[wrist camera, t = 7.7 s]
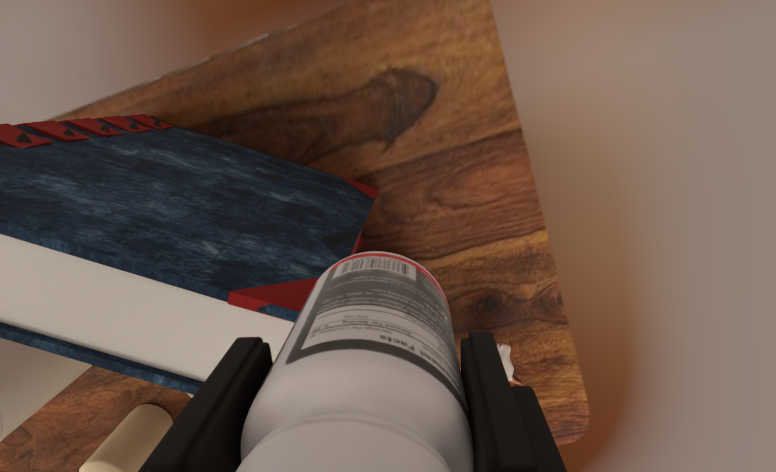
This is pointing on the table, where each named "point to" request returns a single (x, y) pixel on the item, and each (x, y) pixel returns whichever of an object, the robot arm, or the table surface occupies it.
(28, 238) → the book
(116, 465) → the candle
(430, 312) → the pill bottle
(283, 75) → the table surface
